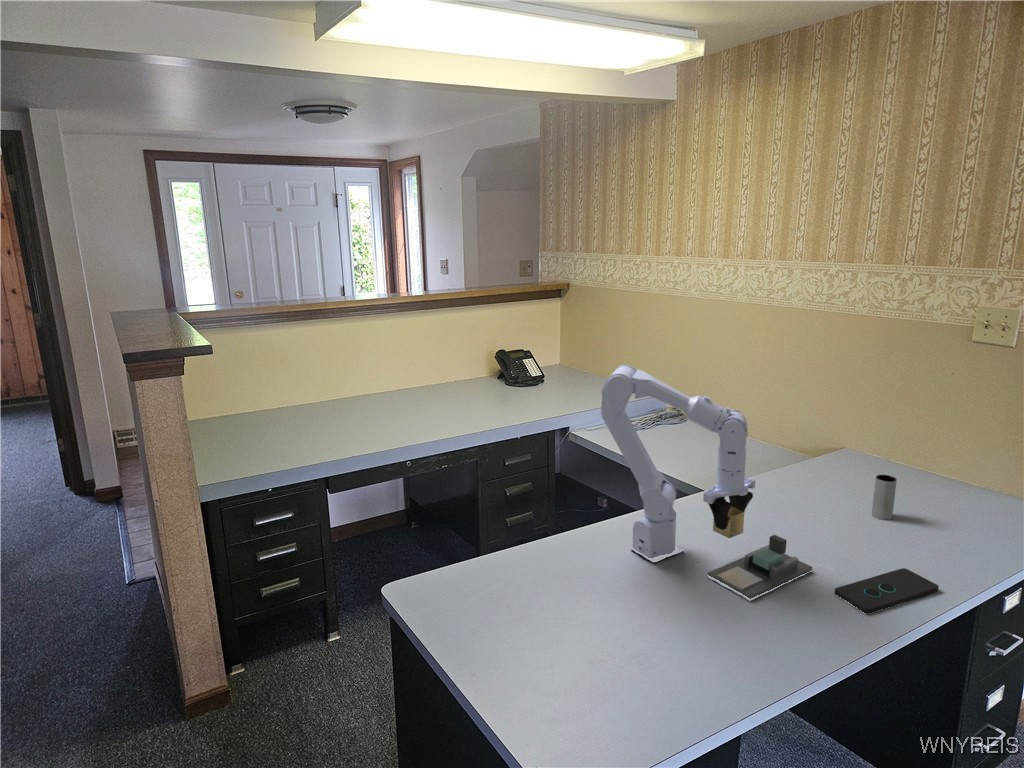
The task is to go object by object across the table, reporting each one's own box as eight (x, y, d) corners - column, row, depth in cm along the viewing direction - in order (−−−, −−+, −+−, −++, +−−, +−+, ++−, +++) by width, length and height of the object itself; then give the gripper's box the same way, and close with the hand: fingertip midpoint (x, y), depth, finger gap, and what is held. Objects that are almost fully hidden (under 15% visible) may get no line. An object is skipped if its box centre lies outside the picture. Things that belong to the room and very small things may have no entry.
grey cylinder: (887, 512, 166) (891, 474, 164) (895, 520, 162) (900, 481, 159) (868, 512, 167) (872, 474, 164) (876, 519, 162) (880, 481, 160)
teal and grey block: (768, 570, 137) (770, 548, 136) (752, 562, 140) (754, 541, 139) (786, 562, 140) (788, 540, 139) (771, 554, 143) (772, 533, 142)
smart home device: (832, 587, 131) (903, 566, 138) (831, 595, 132) (902, 573, 139) (867, 609, 124) (941, 586, 131) (866, 617, 124) (940, 593, 131)
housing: (729, 538, 141) (730, 517, 140) (713, 530, 145) (714, 509, 144) (743, 532, 144) (744, 511, 142) (726, 525, 147) (727, 504, 146)
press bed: (750, 601, 130) (751, 587, 129) (707, 577, 139) (708, 564, 138) (812, 571, 140) (813, 558, 139) (768, 551, 149) (769, 538, 148)
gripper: (723, 480, 134) (720, 541, 137) (768, 465, 141) (764, 522, 144) (696, 470, 139) (694, 528, 143) (741, 456, 147) (738, 511, 150)
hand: (728, 524), depth 144 cm, fingers closed on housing, 4 cm apart
